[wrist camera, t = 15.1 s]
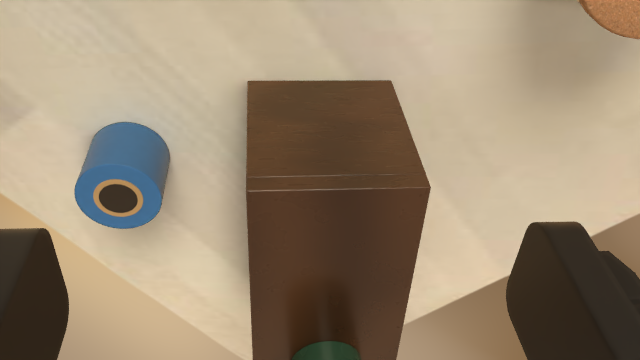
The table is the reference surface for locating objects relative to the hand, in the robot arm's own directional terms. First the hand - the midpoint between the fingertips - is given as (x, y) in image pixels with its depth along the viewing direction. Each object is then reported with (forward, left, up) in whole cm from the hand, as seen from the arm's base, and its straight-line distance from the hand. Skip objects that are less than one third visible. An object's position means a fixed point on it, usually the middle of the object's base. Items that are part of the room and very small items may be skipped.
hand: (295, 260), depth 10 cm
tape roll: (-10, -19, -30) cm, 36 cm away
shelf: (+4, -23, -30) cm, 37 cm away
